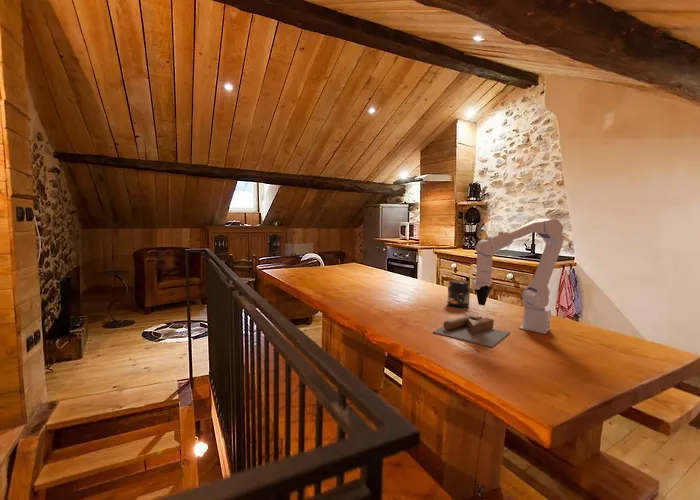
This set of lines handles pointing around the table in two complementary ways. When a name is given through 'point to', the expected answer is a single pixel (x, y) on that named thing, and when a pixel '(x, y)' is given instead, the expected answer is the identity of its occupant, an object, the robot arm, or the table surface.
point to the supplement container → (458, 293)
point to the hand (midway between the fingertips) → (481, 304)
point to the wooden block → (470, 323)
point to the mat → (482, 338)
